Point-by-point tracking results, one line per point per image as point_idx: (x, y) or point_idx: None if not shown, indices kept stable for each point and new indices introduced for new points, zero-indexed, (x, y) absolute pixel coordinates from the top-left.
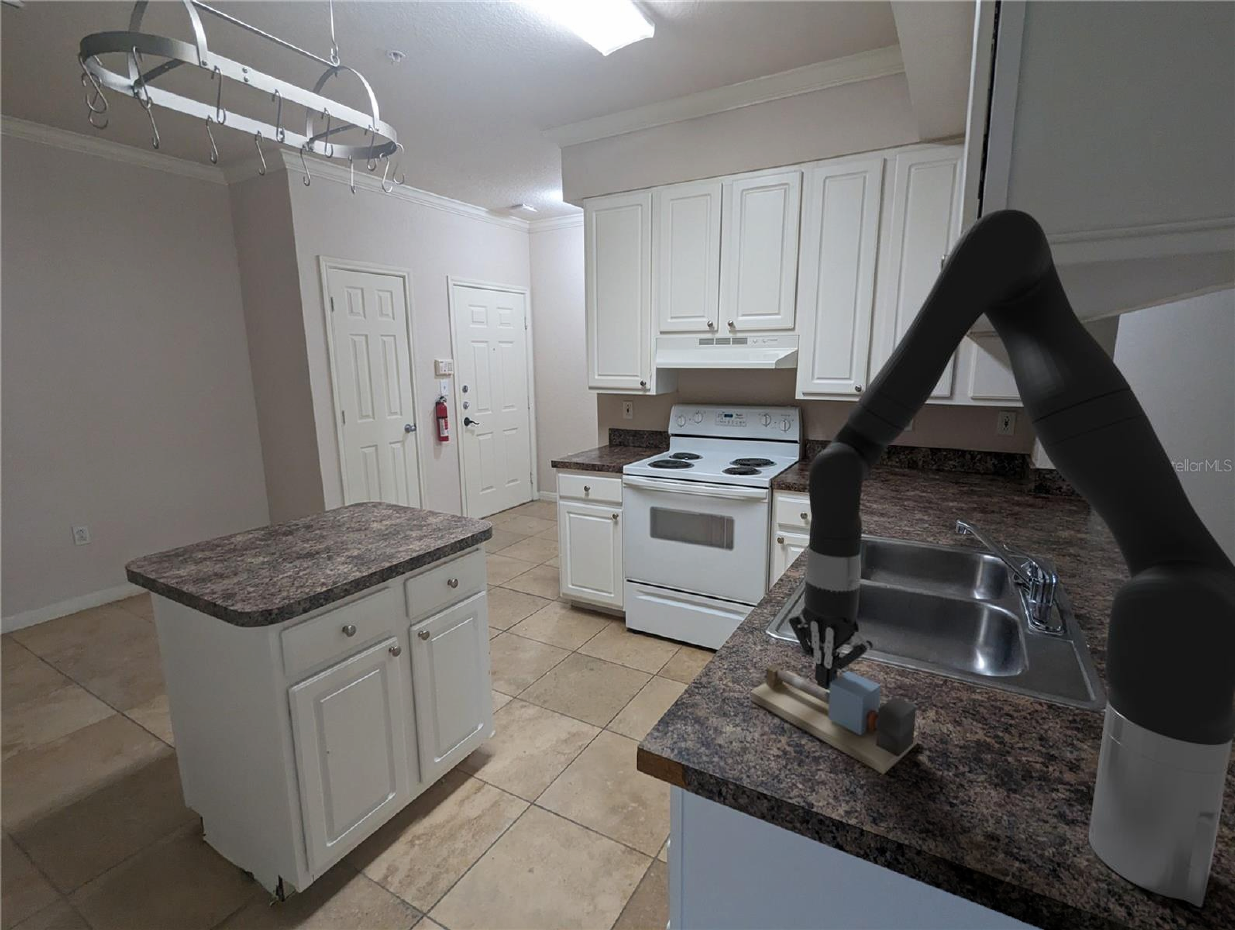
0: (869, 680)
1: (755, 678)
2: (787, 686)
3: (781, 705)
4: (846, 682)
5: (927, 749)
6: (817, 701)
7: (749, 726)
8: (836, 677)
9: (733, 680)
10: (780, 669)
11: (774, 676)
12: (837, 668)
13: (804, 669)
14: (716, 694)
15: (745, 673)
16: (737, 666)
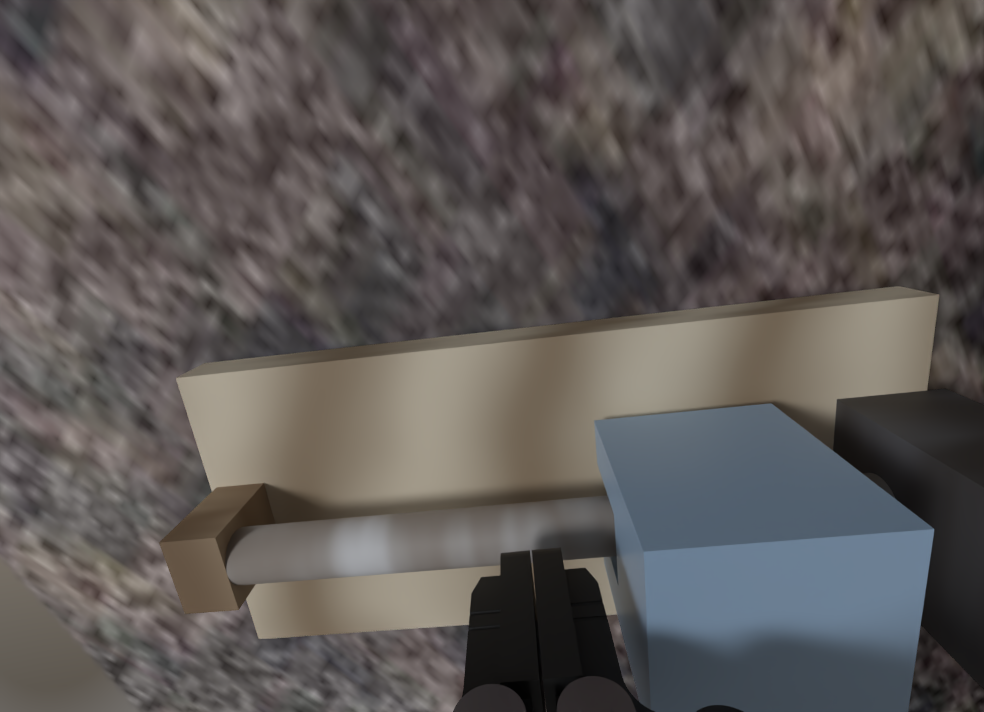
0: (837, 541)
1: (140, 472)
2: (302, 490)
3: (407, 614)
4: (727, 681)
5: (939, 283)
6: (471, 475)
7: (405, 698)
8: (605, 618)
9: (119, 556)
10: (227, 560)
11: (251, 585)
12: (621, 677)
13: (161, 198)
14: (185, 665)
15: (85, 478)
16: (15, 466)
